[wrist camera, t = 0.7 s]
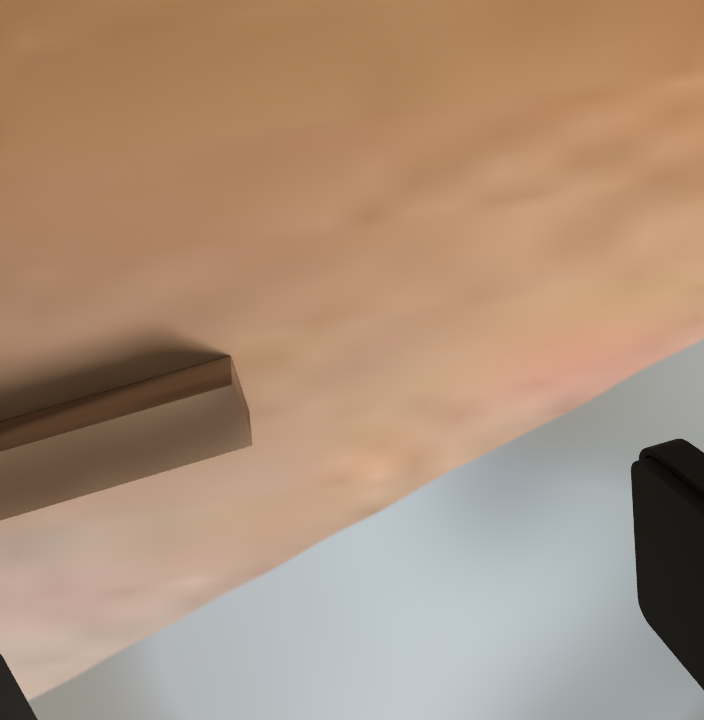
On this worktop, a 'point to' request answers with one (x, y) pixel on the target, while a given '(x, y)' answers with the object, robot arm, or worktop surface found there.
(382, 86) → the worktop surface
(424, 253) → the worktop surface
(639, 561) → the robot arm
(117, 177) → the worktop surface
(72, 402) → the brown angled block
